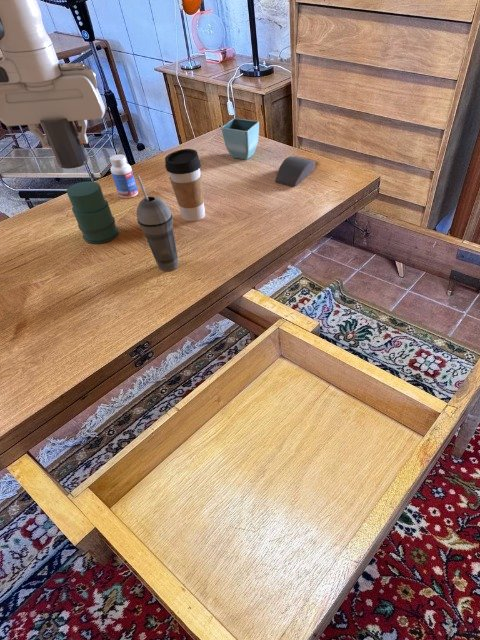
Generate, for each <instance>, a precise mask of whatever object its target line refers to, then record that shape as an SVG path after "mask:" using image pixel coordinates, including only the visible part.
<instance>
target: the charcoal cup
mask: <svg viewBox="0 0 480 640" xmlns="http://www.w3.org/2000/svg"><path fill="white" fill-rule="evenodd" d="M40 122H41V124H40V125H41V127H42V130H43V132H44V133H43V134H44V135H46V137H47V140H48V142H49V144H50V147H49V148H50V149H51V152H52V154H53V156H54V158H55V161H56V163H57V165H58V167H59V168H61V169H66V170H68V169H76V168H80V167H82V166H85V165H86V164H87V163H88V161H89V158H88V155H87V153H86V151H85V148H84V144H80V143H79V139H78V137H77V135H78V133H79V131H78V129H77V126H76V123H75V121H68V120H67V118H64V119H61V120H57V121H44V120H40Z"/></svg>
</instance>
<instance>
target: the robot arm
mask: <svg viewBox="0 0 480 640" xmlns="http://www.w3.org/2000/svg"><path fill="white" fill-rule="evenodd" d="M0 50H1V52H2V54H3V56H1V57H0V122H2V124H4V125H5V126H6V127H17V126H27V128H28V130H29V131H30V133H32V134H33V135H34V136H35V137H36V138H37V139H38V140H39V142H40V143H41V146H42V147H43V148H51V147H50V144H49V142H48V140H47V137H46V135H45V133H43V132H42V131H41V129H39V126H40V125H41V122H40V120H44V121H57V120H61V119H64V118H67V120H68V121H74V122H77V124H78V126H79V127H81V132H80V131H79V132H78V135H77V137H78V139H79V143H80V144H82V145H88V143H89V138H88V136H87V127H88V121H91V120H101V119H103V118H104V115H105V113H106V106H105V102H104V100H103V98H102V95H101V93H100V91H99V89H98V87H99V83H98V79H97V76H96V73H95V71H94V70H93V68H92V67H90V66H89V65H87V64H85V63H84V62H81V61H78V62H75V63H73V62H71V63H70V62H64V63H63V62H61V63H60V61H59V58H58V56H57V53H56V50H55V47H54V44H53V42H52V39H51V38H50V36H49V34H48V33H47V30H46V28H45V26H44V23H43V16H42V12H41V8H40V6H39V3H38V0H0Z"/></svg>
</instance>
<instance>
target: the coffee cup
mask: <svg viewBox="0 0 480 640" xmlns="http://www.w3.org/2000/svg"><path fill="white" fill-rule="evenodd" d="M164 163H165V165H164V167H165V171H167V172H168V176H169V181H170V184H171V187H172V190H173V192H174V195H175V199H176V202H177V205H178V207H179V211H180V213H181V217H182V219H183V220H184V221H186V222H198V221H201V220H202V219H204V218H205V217H206V210H205V197H204V187H203V177H202V172H201V167H202V162H201V159H200V157H199V153H198V151H197V150H195V149H193V148H182V149H180V150H175V151H173V152H170V153H168V154H166V156H165V157H164Z"/></svg>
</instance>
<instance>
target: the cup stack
mask: <svg viewBox="0 0 480 640" xmlns="http://www.w3.org/2000/svg"><path fill="white" fill-rule="evenodd" d="M66 194H67V197H68V199H69V201H70V204H71V206H72V207H71V210H72V213H73V215H74V218H75V221H76V222H77V226H78V229H79V231H80V232H81V233H82V239H83V241H85V242H86V243H87V244H91V245H102V244H106V243H109V242H111V241H113V240H115V239H116V238H117V237H118V236H119V235H120V230H119V228H118V226H117V225H116V219H115V217H114V216H113V213H112V210H111V208H110V204H109V202H108V200H106V198H105V195H104V193H103V191H102V187H101V185H100V184H99V182H96V181H92V180H89V181H88V180H87V181H81V182H76V183H74V184H71V185H70V186H68V188H66Z"/></svg>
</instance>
